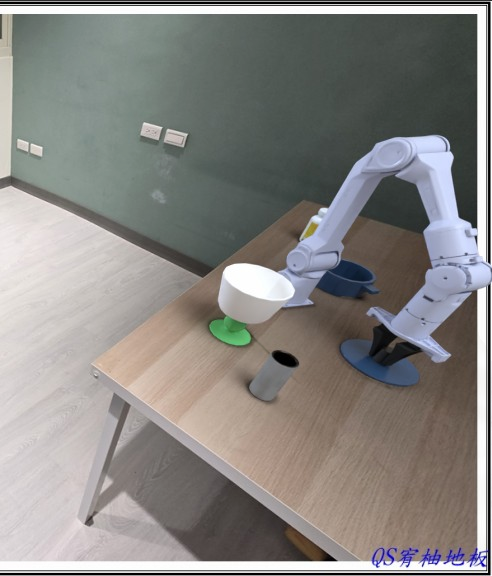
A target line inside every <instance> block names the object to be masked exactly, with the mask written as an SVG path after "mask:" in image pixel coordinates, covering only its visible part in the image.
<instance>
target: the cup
mask: <svg viewBox="0 0 492 576" xmlns="http://www.w3.org/2000/svg"><path fill="white" fill-rule="evenodd" d="M277 272H278V271H275V270H273V269H271V268H267V267H265V266H262V265H258V264H252V263H244V262H243V263H233V264H231V265H227V266H226V267H225V268H224V270H223V271H222V276H221V281H220V286H219V287H220V288H219V292H218V297H217V302H218V306H219V309H220V310H221V311H222V313H223V314H224V315H226V316H225V317H224V319H223V318H222V319H221V318H220V319H215V320H213V321H211V322H210V324H209V326H208V327H209V331H210V333H212V335H213V336H214V337H215V338H217V339H218V340H219V341H221V342H223V343H225V344H227V345H232V346H236V347H239V346H246V345H248V344H249V343H250V342H251V339H252V337H251V334H250V332H249V331H248V330H247V329H246V327H247V325H259V324H262V323H264V322H266V321H268V320H270V319H271V318H272V317H273V316H274V315H275V314H276V313H277V312H278V311H279V310H281V308H283V307H282V306H283V305H284V304H286V303H287V302H288V301H289V300H290V299H291V298H292V297H293V295H294V292H295V289H294V287H293V286H292V284H291V282H290V281H288V280H287V279H286V278H285V277H284V276H282V275H280V274H278V273H277Z"/></svg>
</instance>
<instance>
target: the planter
mask: <svg viewBox="0 0 492 576" xmlns="http://www.w3.org/2000/svg"><path fill="white" fill-rule="evenodd" d="M299 366H300V361H299V359H298V358H297V357H296V356H295V355H294V354H292V353H290V352H288V351H285V350H281V349H276V350H273V351H271V353H270V354H269V356H268V357H267V359H266V361H265V362H263V364H262V366H261V368H260V369H259V371H258V372H257V374H256V375H255V377H254V378H253V380H251V382H250V384H249V386H248V387H249V388H248V389H249V392H250V393H251V394H252V395H253V396H255V397H256V398H257V399H259V400H261V401H264V402H265V401H266V402H271V401H273V400H274V399H275V398H276V396H277V395H278V394H279V392H280V391H281V390H282V388H283V387H284V386H285V385H286V384H287V382H288V381H289V379H290V378H291V377H292V376H293V374H294V373H295V372H296V370H298V368H299Z"/></svg>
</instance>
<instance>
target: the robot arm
mask: <svg viewBox="0 0 492 576" xmlns="http://www.w3.org/2000/svg"><path fill="white" fill-rule="evenodd" d="M450 150H451V146H450V141H449V140H448V139H447V138H446V137H444V136H442V135H440V134H439V135H438V134H430V135H425V136H410V137H403V136H402V137H401V136H398V137H397V136H396V137H392V138H390V139H386V140H383V141H380V142H376V143H375V145H374V146H373V148H372V149H371V151H369V152H368V153H367V154H365V155H364V156H362V157H361V158H360V159H358V160H357V161H356V162H355V164H353V166H352V168H351V169H350V171H349V173H348V174H347V177H346V178H345V180H344V181H343V183H342V185H341V186H340V188H339V190H338V192H336V193H337V194H336V195H335V197H334V198H333V200H332V201H331V204H330V205H329V207H328V208H329V209H328V210H327V212H326V214H325V215H324V217H323V219H322V220H321V222H320V224H319V225H318V227H317V229H316V231H315V232H314V234H313V235H311V236H310V237H308V238H306V239H304V240H303V241H299V242H298V243H297V245H296V247H295V248H294V249H292V250H290V251H289V252H288V254H287V256H286V267H285V268H284V269H282V270H278V271H276V272H277V273H278V274H280V275H282V276H284V277H285V278H286V279H287V280H288V281H290V282H291V284H292V286H293V287H294V289H295V292H294V295H293V297H292V298H291V299H290V300H289V301H288V302H287V303H286V304H284V305H283V306H282V307H281V308H289V307H299V306H307V305H308V306H309V305H314V302H313V301H312V300H310V299H309V298H310V295H311V294H312V293H313V291H314V290H315V288H316V287H317V286H316V285H317V284H318V282H319V281H320V279H321V278H322V276H323V275H324V274H325V273H326V271H327V270H330V269H333V268H335V267H336V266H337V265H338V264H339V262H340V259H342V257H341V256H342V252H343V251H344V249H345V245H344V243H343V242H342V240H344V238H345V236H346V235H347V233H348V231H349V230H350V228H351V227H352V225H353V224H354V222H355V221H356V219H357V217H358V216H359V214H360V213H361V212H362V210H363V208H364V207H365V205H366V204H367V202H368V201H369V200H370V197H371V196H372V195H373V193H374V191H375V190H376V188H377V187H378V185H379V184H380V183H381V181H382V179H384V178H386V177H389V176H393V175H394V176H395V177H396V178H398V179H400V180H403V181H406V182H408V183H410V184H411V183H412V184H414V185H416V188H417V191H418V194H419V196H420V198H421V202H422V204H423V207H424V209H425V212H426V216H427V219H428V220H429V224H428V226H427V227H425V229H424V230H423V232H422V234H423V238H424V242H425V244H426V248H427V252H428V256H429V260H430V264H431V267H432V268H429V269H427V271H426V272H425V276H424V279H425V284H423V286H422V287H421V288H420V289H419V290H418V291H417V292H416V293H415V295H413V297H412V298H411V299H410V300H409V301H408V302H407V303H406V304H405V306H404V307H402V309H401V310H399V312H398V313H397V315H395V314H393V313H391V312H389V311H387V310H385V309H383V308H381V307H380V306H374V307H370V308H369V309H368V311H367V312H366V313H365V315H366V316H368V317H370V318H374V319H375V320H377V321H378V322H380V324H379V325H375V326H373V328H372V335H373V337H372V342H373V343H372V346H371V349H370V351H369V355H370V356H374V355H375V354H376V353H377V351H378V350H379V349H380V348H381V347H382V346H389V345H390V344H392V343H393V342H394V341H396V340H397V339H398V338H400V339H402V340H404V341H400V342H396V343H395V344H394V347H393V350H392V352H391V353H390V355H389V356H388V357H387V358H386V359H385V360H384V361H383V362H382V363H381V364H382V365H383V366H391V365H393V364H395V363H396V362H398V361H400V360H402V359H404V358H406V359H407V358H408V357H411V356H414V355H418V354H420V353H424V354H426V355H427V356H429V357H430V360H431V361H432V362H434V363H436V364H437V363H438V364H439V363H445V362H446V361H447V360H448V359H449V358H450V357H451V356H452V354H451V353H450V352H448V351H447V350H445V349H444V348H443V347H442V346H441V345H440V344H439V343H438V342H437V341H436V340H435V339H434V338H433V337H432V336H431V334H432V333H434V332H435V330H436V329H438V327H440V325H442V324H443V322H445V320H447V318H449V317H450V316H451V315H452V314H453V313H454V312H455V311H456V310H457V309H458V308H459V307H460V306H461V305H462V304H463V302H464V301H466V299H468V298H469V296H470V295H472V293H473V292H472V291H478V290H481V289H484V288H487V287H488V286H489V285H490V284H492V264H490V263H489V262H488V261H485V260H484V257H483V256H481V255H480V252H479V248H478V245H477V242H476V238H475V237H477V236H478V235H479V233H478V228H476V227H475V228H473V226H472V223H471V222H469V221H467V220H464V219H462V218H460V217H459V211H458V206H457V205H458V204H457V200H456V194H455V188H454V182H453V176H452V166H453V162H454V158H455V157H454V154H453V153H452V151H450Z"/></svg>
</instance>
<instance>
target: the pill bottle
mask: <svg viewBox="0 0 492 576" xmlns="http://www.w3.org/2000/svg"><path fill="white" fill-rule="evenodd" d="M328 209H329V207H321V208H319V210H318V212H317V214H315V215H313V216H311V218H310V219H309V221H308V223H307V224H306V226H305V228H304V229H303V231H302V233H301V235H300V237H299V242H301V241H303V240H304V239H306V238H308V237H310V236H311V235H313V234H314V232H315V231H316V229H317V227H318V225H319V224H320V222H321V220H322V219H323V217H324V215H325V214H326V212H327V210H328Z"/></svg>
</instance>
